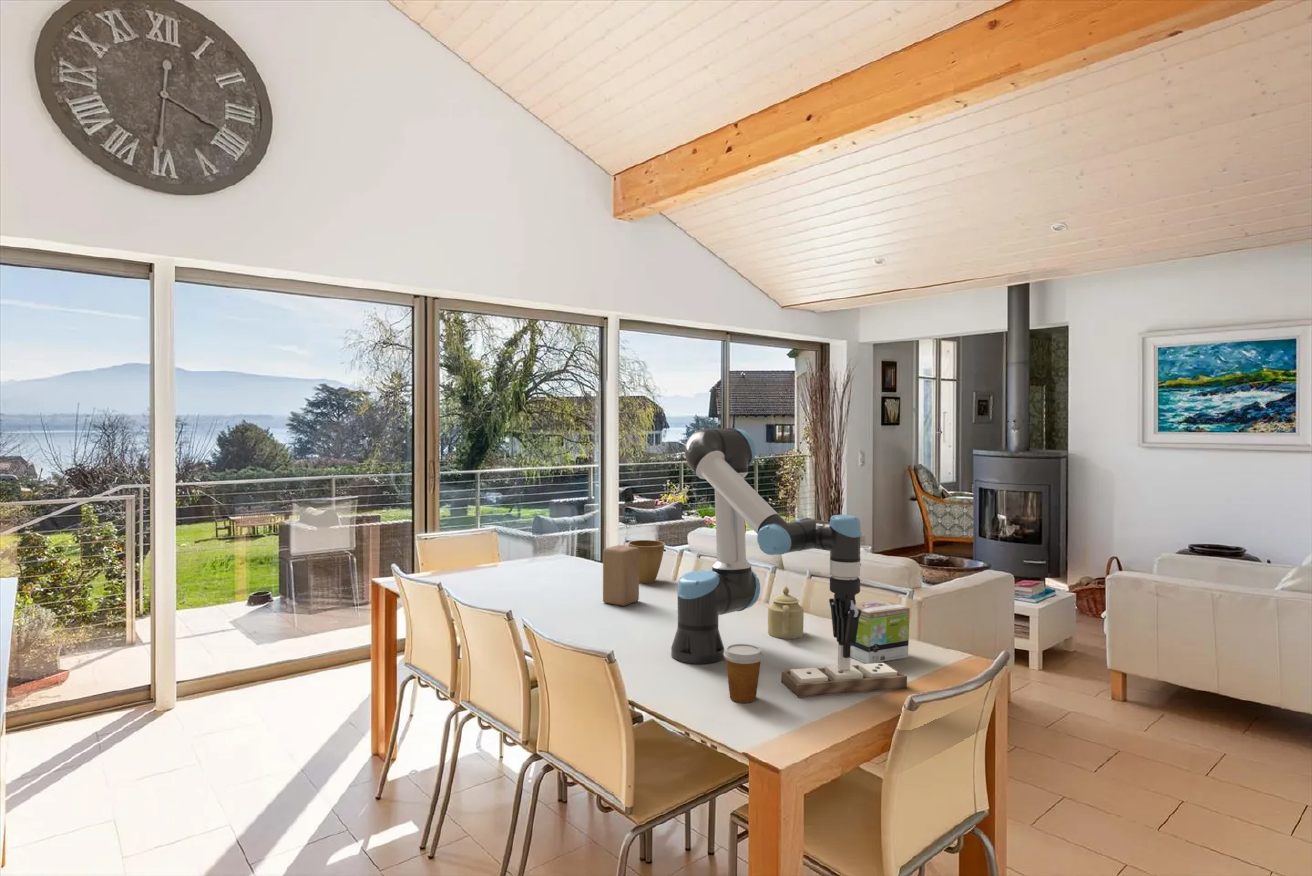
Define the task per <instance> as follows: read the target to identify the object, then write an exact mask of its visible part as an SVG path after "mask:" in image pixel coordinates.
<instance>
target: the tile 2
mask: <svg viewBox="0 0 1312 876" xmlns="http://www.w3.org/2000/svg"><path fill="white" fill-rule="evenodd" d="M852 665H853V664H852ZM852 665H851V664H850V670H839V669H838V664H837V665H835V664H834V665H825V666H824V667H825V673H827V674H828V675H829V676H830V677H832V678H833V679H834V680H836V681H837V680H850V679H863V673H862V672H860V671H859V670H857V669H856V668H854V667H853V666H852Z"/></svg>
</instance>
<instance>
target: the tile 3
mask: <svg viewBox="0 0 1312 876" xmlns="http://www.w3.org/2000/svg"><path fill="white" fill-rule="evenodd" d="M884 663H885V662H877V663H872V664H866V663H863V664H861V663H859V664H858V665H859V670H860V671H862V672H863V673H864V674H866V675H867V676H869V677H870V678H876V677H889V676H897V671H898V670H897V671H895V670H894V669H895V668H894V669H892V668H891V667H892V666H891V667H889V666H887V665H886V664H887V663H886V664H884Z"/></svg>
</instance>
